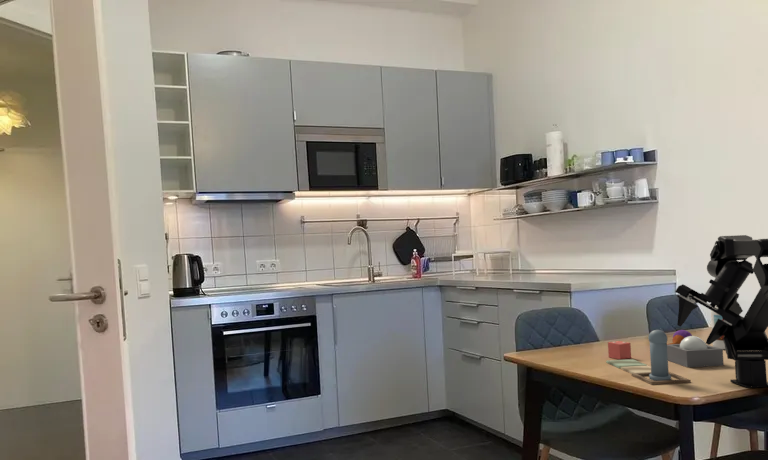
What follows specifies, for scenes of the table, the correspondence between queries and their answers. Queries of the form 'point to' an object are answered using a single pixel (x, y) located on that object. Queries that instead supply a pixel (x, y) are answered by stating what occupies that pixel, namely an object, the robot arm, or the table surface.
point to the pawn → (658, 356)
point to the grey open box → (695, 356)
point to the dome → (693, 343)
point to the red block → (619, 350)
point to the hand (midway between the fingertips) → (692, 334)
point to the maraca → (680, 336)
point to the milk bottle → (714, 317)
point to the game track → (643, 371)
